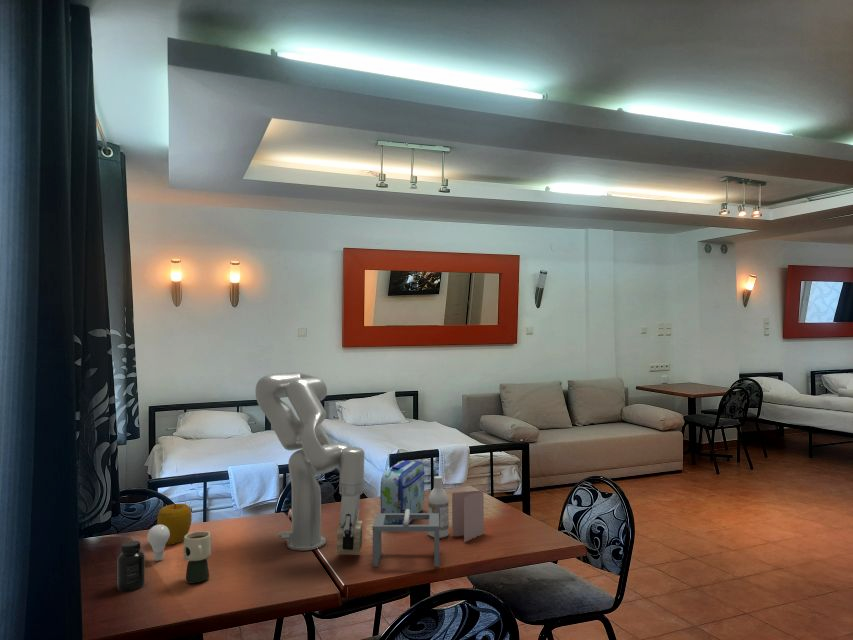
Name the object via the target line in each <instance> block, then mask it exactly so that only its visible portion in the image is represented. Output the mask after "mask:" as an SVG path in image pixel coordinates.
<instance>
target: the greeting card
mask: <svg viewBox="0 0 853 640" xmlns="http://www.w3.org/2000/svg"><path fill="white" fill-rule="evenodd" d="M484 497H485V496H484V490H473V491H471V490H470V491H460V492H459V491H458V492H452V493H451V503H452V505H451V507H452V508H451V511H452V512H451V513H452V519H451V522H452V523H451V526H452V527H451V529H452V530H451V531H452V537H453V536H455V537H461V536H460V535H464V536H463V543H464V542H465V543H467V542H468V540H469V541H471V540H473V539H475V538H478V537H480V536H482V535H484V533H485V532H484V530H485V528H484V527H485V525H484V524H485V523H484V522H485V521H484V520H485V519H484V515H485V513H484V512H485V511H484V509H485V508H484V507H485V506H484V504H485V503H484V500H485V499H484ZM477 536H478V537H477ZM472 538H473V539H472ZM470 539H471V540H470ZM466 541H467V542H466Z"/></svg>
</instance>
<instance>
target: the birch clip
mask: <svg viewBox="0 0 853 640" xmlns="http://www.w3.org/2000/svg"><path fill="white" fill-rule="evenodd" d="M350 526H352V524H350ZM363 527H364V526H363V521H362V520H357V523H356V526H355V527H354V528H353V536H354V542H353V550H344V549H343V534H344V525H343V527H340V522H339V523H338V526H337V528H336V529H337V531H336V532H337V533H336V554H339V555H359V556H360V554H361V552H360V551H361V549H362V547H363ZM349 529H350V531H351V528H349Z"/></svg>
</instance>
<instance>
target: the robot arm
mask: <svg viewBox="0 0 853 640" xmlns="http://www.w3.org/2000/svg"><path fill="white" fill-rule="evenodd" d="M327 395H328V389H327V384H326V383H325V381H324V380H323V379H322V378H320V377H318V376H313V375H310V374H305V373H302V372H284V373H283V372H281V373H272V374H268V375H264V376H262V377H261V378H260V379H258V381H257V383H256V386H255V398H256V402H257V405H258V406H259V409H260V410H261V411H262V413H263V414H264V416H265V417H266V418H267V420H268V422H269V423H270V425H271V427H272V429H273V431H274V433H275V434H276V437H277V438H278V440H279V442H280V444H281V445H282V447H283V448H284V449H285V450H286V451H295V452H293V453H292V454H291V455H290V457H289V459H288V472H289V478H290V483H291V484H290V485H291V529H290V530H288V531H286V530H285V531H284V530H282V531H281V530H280V531H278V532H279V533H278V537H279V538H280V539H281V540H287V542H286V545H287V548H288V549H290V550H294V551H300V552H301V551H304V552H305V551H312V550H316V548H317V547H320V546H322V545H323V546H325V545H326V543H327V539H326V538H325V536H322V494H321V493H322V491H321V486H320V484H319V482H318V480H317V478H316V477H317V476H319V475H324V474H327V473H330V472H333V471H334V470H335V469H337V468H339V481H338V482H339V485H338V486H339V489H338V490H339V491H338V494H340V495H341V501H340V510H339V511H340V512H339V523H340V527H343V525H344V534H343V549H344V550H353V542H354V536H353V528H354V527H355V526H356V523H357V521H359V520H358V519H359V515H360V496H361V495H362V494H364V482H365V481H364V480H365V451H364V449H363V448H361V447H357V446H351V445H350V444H348V443H346V442H336V443H332V441H331V439H330V437H329V436H328V434H327V432H326V430H325V428H324V426H323V425H322V423H323V422H324V421H325V420H326V418H327V412H326V410H325V408H324V406H323V405H322V403H321V401H323V400H324V399H325V398H326V397H327ZM283 398H288V400H289V402H290V404H291V405H292V408H291V407H290V406H289V404H287V403H286V402H285V401H283V400H282V399H283ZM293 409H294V410H293ZM294 411H295V412H294ZM295 413H296V414H295ZM350 524H352V526H350ZM349 528H351V531H350V529H349ZM324 544H325V545H324ZM323 546H322V547H323ZM320 548H321V547H320ZM317 549H318V548H317Z"/></svg>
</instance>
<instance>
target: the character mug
mask: <svg viewBox="0 0 853 640" xmlns="http://www.w3.org/2000/svg"><path fill="white" fill-rule="evenodd" d="M211 536H212V535H211V532H209V531H206V530H197V531H193V532H188V534H186V535H185V536H184V540H183V559H185V560H186V561H187V562H188V563H187V565H186V570H185V571H186V574H185V582H186V583H188V584H197V583H198V584H199V583H200V582H203V581H205V580H208V579H209V578H210V572H209V570H210V569H209V562H208V560H207V559H208V558H209V557H211V553H212V552H211V548H212V545H211V542H212V541H211Z"/></svg>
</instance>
